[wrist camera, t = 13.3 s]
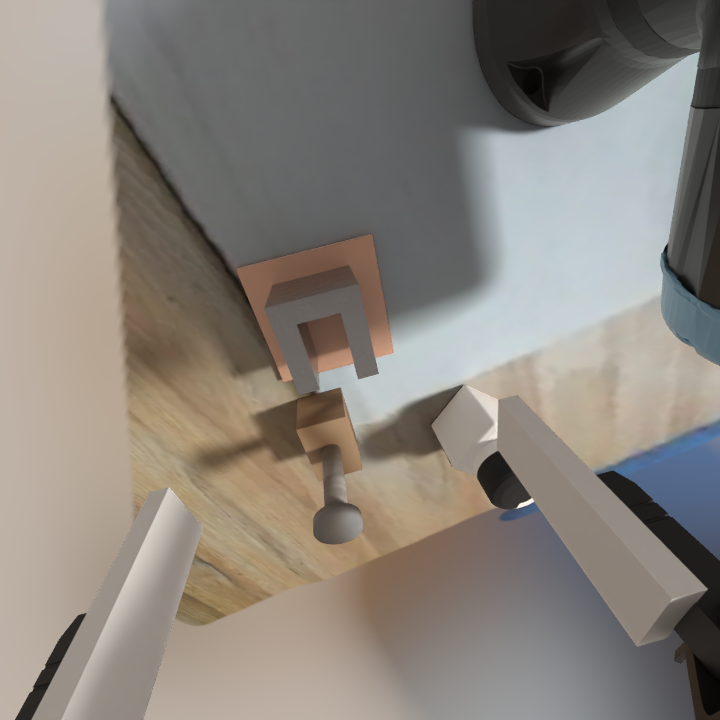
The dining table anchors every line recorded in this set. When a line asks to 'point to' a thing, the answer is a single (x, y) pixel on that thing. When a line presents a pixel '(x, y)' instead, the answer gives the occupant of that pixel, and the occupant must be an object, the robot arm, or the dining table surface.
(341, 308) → the c link
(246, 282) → the tile
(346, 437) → the knob on wooden block
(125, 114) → the dining table surface
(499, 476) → the medicine bottle
